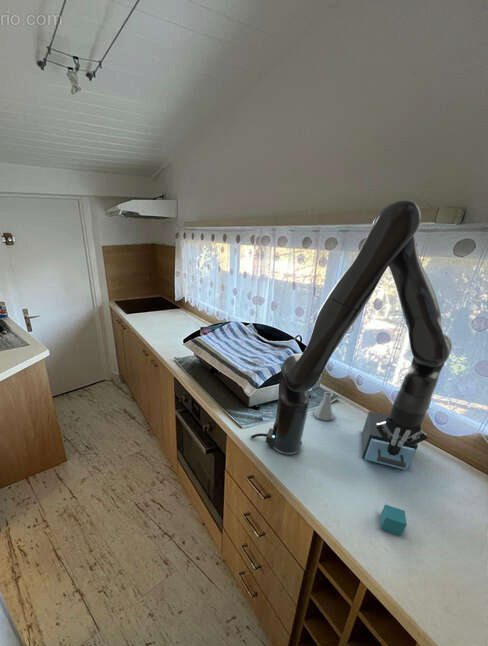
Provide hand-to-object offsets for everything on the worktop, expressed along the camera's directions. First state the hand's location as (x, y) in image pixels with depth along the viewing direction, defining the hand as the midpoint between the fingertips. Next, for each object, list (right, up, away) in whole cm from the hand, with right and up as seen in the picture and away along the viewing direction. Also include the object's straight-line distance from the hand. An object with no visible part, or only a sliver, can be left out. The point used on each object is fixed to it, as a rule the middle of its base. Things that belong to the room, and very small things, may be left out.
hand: (391, 453), depth 92 cm
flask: (-8, +8, +29) cm, 32 cm away
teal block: (-10, -15, -14) cm, 23 cm away
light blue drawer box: (+2, -3, +7) cm, 8 cm away
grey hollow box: (+5, -1, +11) cm, 12 cm away
